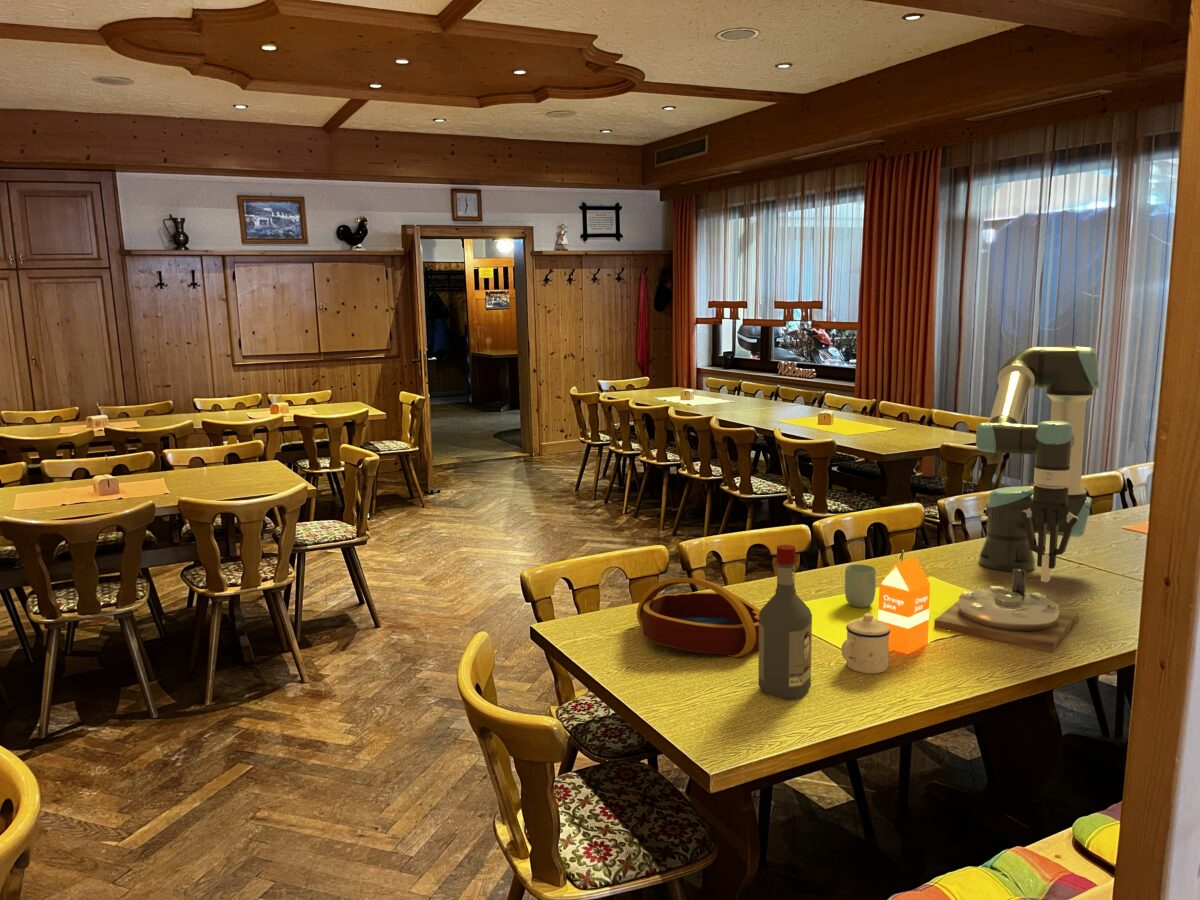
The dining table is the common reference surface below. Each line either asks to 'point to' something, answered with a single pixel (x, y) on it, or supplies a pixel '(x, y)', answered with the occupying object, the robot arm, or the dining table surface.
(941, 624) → the base plate
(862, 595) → the cup
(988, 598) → the crank wheel
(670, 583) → the decorative basket
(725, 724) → the dining table surface
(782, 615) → the liquor
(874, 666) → the teacup with lid
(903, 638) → the orange juice
